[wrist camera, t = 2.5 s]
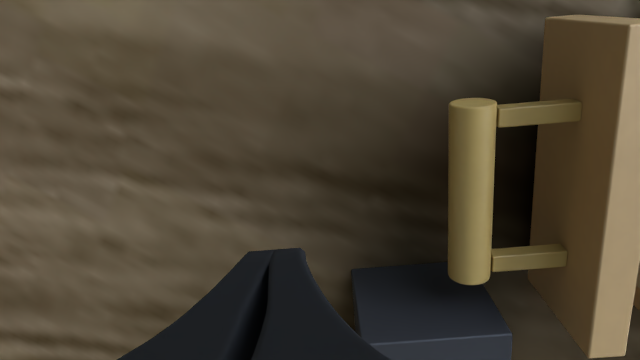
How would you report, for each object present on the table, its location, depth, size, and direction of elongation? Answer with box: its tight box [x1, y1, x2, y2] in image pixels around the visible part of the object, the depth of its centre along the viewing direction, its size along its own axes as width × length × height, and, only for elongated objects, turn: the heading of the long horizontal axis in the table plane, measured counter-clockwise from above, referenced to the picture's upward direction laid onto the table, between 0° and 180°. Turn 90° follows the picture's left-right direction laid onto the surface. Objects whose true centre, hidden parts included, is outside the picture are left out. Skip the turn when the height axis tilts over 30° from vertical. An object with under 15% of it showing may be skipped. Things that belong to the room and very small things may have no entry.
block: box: [351, 262, 512, 360], centre depth 20 cm, size 5×5×5 cm
